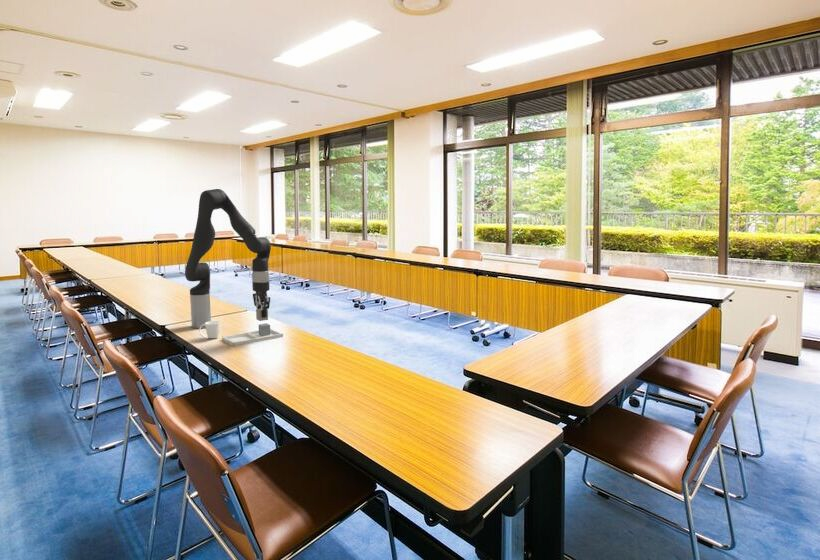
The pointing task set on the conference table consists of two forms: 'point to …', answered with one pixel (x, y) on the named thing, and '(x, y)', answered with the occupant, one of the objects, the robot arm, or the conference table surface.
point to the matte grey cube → (264, 329)
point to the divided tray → (250, 337)
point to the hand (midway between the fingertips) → (262, 316)
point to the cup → (211, 329)
